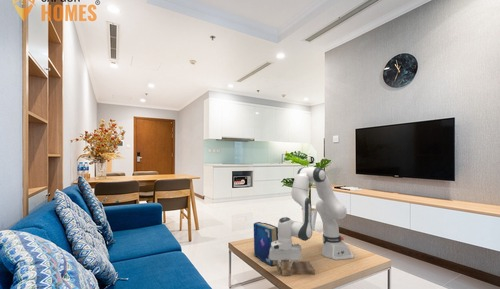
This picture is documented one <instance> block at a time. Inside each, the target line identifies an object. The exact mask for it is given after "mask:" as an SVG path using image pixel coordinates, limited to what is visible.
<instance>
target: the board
mask: <svg viewBox="0 0 500 289" xmlns="http://www.w3.org/2000/svg"><path fill="white" fill-rule="evenodd" d="M280 263H281V261H280ZM276 267H277V271H278V274H279V275H280V276H282V269H281V267H279V263H278V262H277V264H276ZM290 270H291V275H292V276H293V275H315V269H314V267H313V265H312V264H311V262H310V261H309V260H306V261H303V260H301V261H300V260H295V261H293V263H292V267H290Z"/></svg>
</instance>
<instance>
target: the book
mask: <svg viewBox="0 0 500 289" xmlns="http://www.w3.org/2000/svg"><path fill="white" fill-rule="evenodd" d="M278 236H279V235H278V226H276V225H273V224H270V223H267V222H262V221H261V222H260V221H257V222H254V223H253V249H254V250H253V254H254V256H255V257H256V258H258V259H259V260H261V261H262V262H264V263H265V264H268V265H269V266H271V267H272V266H277V262H278V261H277V260H270V258H269V251H270V247H271V242H274V241H277V240H278Z"/></svg>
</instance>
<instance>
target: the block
mask: <svg viewBox="0 0 500 289" xmlns="http://www.w3.org/2000/svg"><path fill="white" fill-rule="evenodd" d="M280 262H281V264H282V267H281V269H282V275H281V276H282V277H284V276H285V277H286V276H287V277H288V276H289V277H291V270H290V262H291V260H280Z"/></svg>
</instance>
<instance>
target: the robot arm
mask: <svg viewBox="0 0 500 289" xmlns="http://www.w3.org/2000/svg"><path fill="white" fill-rule="evenodd" d="M310 183H314V187H315V189H316V190H315V191H316V192H317V195H318V196H317V197H318V198H320V200H318V201H317V202H316V204H315V210H316V211H317V213H318V214H319V217H320V219H321V222H322V232H323V233H322V250H321V255H322V256H324V257H325V258H329V259H332V260H334V261H338V260H346V259H347V260H348V259H354V257H355V255H354V254H353V252H352V251H351V249H350V247H349V245H347V244H346V243H345V242H344V239H345V238H344V237H343V236H342V235H340V231H339V229H340V228H339V223H338V222H337V221H336V219H339V220H340V219H341V220H342V219H344V218H345V217H346V216H347V208H346V207H345V205H343V204H342V203H341V202H340V200H339V199H338V198H337V196H336V195H335V193H334V190H333V188H332V187H333V186H332V184H331V181H330V179H329V177H328V175H327V173H326V171H325V169H324V168H322V167H320V166H319V167H318V166H317V167H316V166H309V167H301V168H299V169H298V171H297V173H296V175H295V177H294V180H293V183H292V188H291V191H290V192H291V198H292V199H293V201H294V202H296V203H297V204H299V206H301V209H302V222H300V221H296V220H293V219H291V218H290V217H287V216H286V217H281V218H279V220H278V224H277V227H278V240H277V241H274V242H271V247H270V251H269V258H270V260H277V261H278V263H279V267H282V264H281V263H280V262H281V260H289V261H290V267H292V263H293V262H294V261H300V260H302V252H301V251H302V245H301V244H299V243H293V239H292V237H294V238H297V239H299V240H301V241H304V242H306V241H309V240H310V239H311V238H312V235H313V226H312V225H313V224H312V200H311V199H310V198H309V197H310V196H309V188H310Z"/></svg>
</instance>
